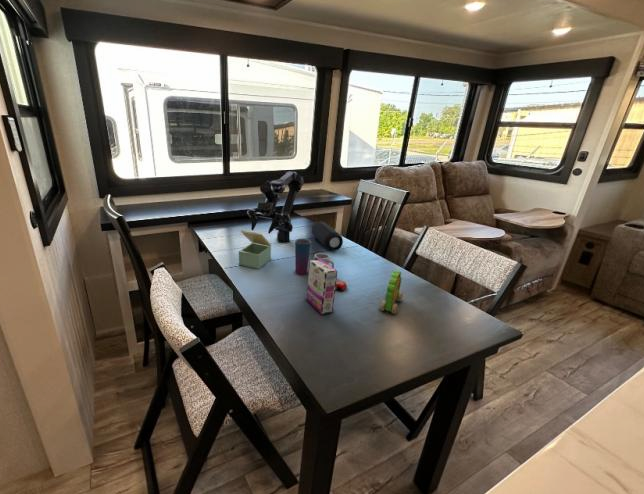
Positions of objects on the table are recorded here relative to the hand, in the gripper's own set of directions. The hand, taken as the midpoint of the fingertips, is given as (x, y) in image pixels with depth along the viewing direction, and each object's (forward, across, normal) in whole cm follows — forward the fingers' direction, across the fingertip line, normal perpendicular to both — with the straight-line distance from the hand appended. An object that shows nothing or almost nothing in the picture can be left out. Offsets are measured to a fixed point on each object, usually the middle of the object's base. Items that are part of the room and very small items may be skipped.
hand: (260, 231), depth 150 cm
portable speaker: (-13, +23, +35) cm, 44 cm away
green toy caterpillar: (+22, +64, -4) cm, 68 cm away
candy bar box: (+30, +41, -12) cm, 52 cm away
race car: (+18, +40, 0) cm, 44 cm away
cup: (+14, +24, +4) cm, 29 cm away
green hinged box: (+14, +1, +4) cm, 15 cm away
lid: (+5, +1, -3) cm, 6 cm away
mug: (+10, +33, +10) cm, 36 cm away
